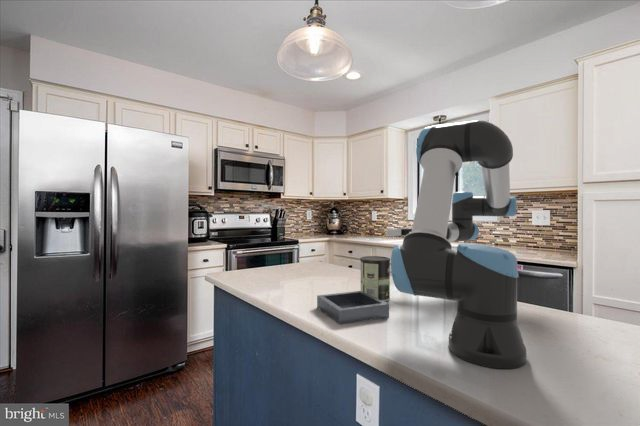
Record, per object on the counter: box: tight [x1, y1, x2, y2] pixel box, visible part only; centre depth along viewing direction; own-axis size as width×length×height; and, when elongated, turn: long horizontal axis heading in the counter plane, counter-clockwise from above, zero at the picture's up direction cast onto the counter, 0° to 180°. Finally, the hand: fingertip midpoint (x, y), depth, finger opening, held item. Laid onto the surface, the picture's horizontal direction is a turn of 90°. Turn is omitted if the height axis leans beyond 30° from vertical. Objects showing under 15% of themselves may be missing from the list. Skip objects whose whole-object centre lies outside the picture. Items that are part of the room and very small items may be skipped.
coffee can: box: [359, 255, 391, 303], centre depth 112 cm, size 10×10×14 cm
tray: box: [316, 290, 390, 325], centre depth 98 cm, size 16×16×4 cm
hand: (397, 234), depth 116 cm, fingers open, 13 cm apart
